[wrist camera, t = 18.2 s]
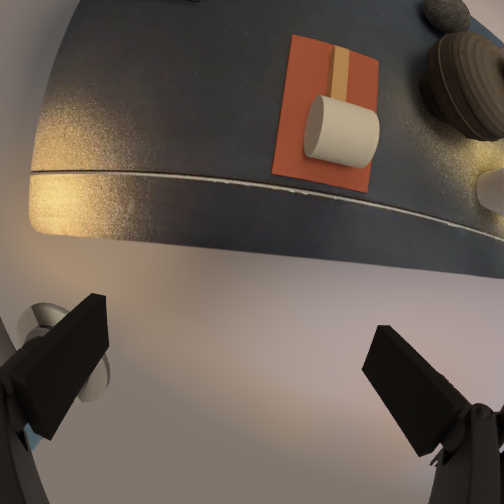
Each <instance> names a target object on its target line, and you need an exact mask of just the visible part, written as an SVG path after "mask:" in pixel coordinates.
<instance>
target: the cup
mask: <svg viewBox="0 0 504 504" xmlns="http://www.w3.org/2000/svg"><path fill="white" fill-rule="evenodd" d="M476 193H477V198H478V200H479V203H480V204H481V205H482V206H483V207H485V208H487V209H490V210H492V211H493V212H495V213H497V214H499V215H501V216H503V217H504V168H500V169H496V170H493V171H489V172H485V173H482V174H481V175H480V176H479V177H478V180H477V185H476Z"/></svg>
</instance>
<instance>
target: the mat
mask: <svg viewBox="0 0 504 504" xmlns="http://www.w3.org/2000/svg"><path fill="white" fill-rule="evenodd" d="M334 46H335V45H331V44H328V43H325V42H321V41H317V40H313V39H310V38H305V37H301V36H297V35H292V36H291V43H290V50H289V57H288V63H287V70H286V77H285V84H284V91H283V98H282V104H281V111H280V118H279V125H278V131H277V138H276V145H275V151H274V158H273V164H272V171H271V174H274V175H280V176H286V177H291V178H297V179H302V180H307V181H312V182H318V183H322V184H327V185H332V186H337V187H341V188H346V189H350V190H355V191H359V192H363V193H367V190H368V184H369V177H370V169H371V162H372V159H371V161H370V162H369V164H368V165H367V166H365V167H364V168H362V169H358V168H354V167H350V166H346V165H342V164H338V163H334V162H329V161H325V160H321V159H316V158H311V157H307V156H306V155H305V151H304V134H305V127H306V122H307V117H308V114H309V110H310V108H311V105H312V103H313V101H314V99H315V98H316V97H317V96H318V95H322V96H326V94H327V85H328V74H329V63H330V51H331V50H332V49H333V48H334ZM378 68H379V61H378V60H375V59H372V58H370V57H367V56H365V55H362V54H359V53H356V52H353V51H350V50H349V67H348V82H347V94H346V102H347V103H351V104H354V105H357V106H360V107H363V108H366V109H369V110H372V111H374V112H375V114H376V111H377V95H378Z"/></svg>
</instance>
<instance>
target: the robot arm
mask: <svg viewBox="0 0 504 504" xmlns="http://www.w3.org/2000/svg"><path fill="white" fill-rule="evenodd" d="M106 312H107V311H106V296H104V295H99V294H94V293H91V294H90V295H89V296H88V297H87V298H86V299H84V300H83V301H82V302H81V303H80V304H78V306H76V307H75V308H74V309H73V310H72V311H71V312H69V313H68V314H67V315H66V316H65V317H64V318H63V319H62V320H61V321H59V322H58V323H57V324H56V325H55V326H54V327H52V326H48V325H40V326H37V327H35V328H34V329H33V330H32V331H31V332H29V334H28V335H27V337H26V339H25V342H24V344H23V346H22V347H21V348H20V349H19V350H18V351H16V349H15V347H14V345H13V343H12V341H11V339H10V338H9V335H8V333H7V331H6V329H5V327H4V325H3V322H2V320H1V318H0V504H50V503H49V501H48V498H47V496H46V494H45V491H44V488H43V486H42V483H41V480H40V477H39V475H38V472H37V469H36V466H35V463H34V459H33V456H32V453H31V451H32V450H34V449H35V447H36V446H37V445H38V443H39V442H40V441H41V440H42V439H43V437H44V438H46V439H48V440H50V441H51V439H52V437H53V436H54V434H55V432H56V430H57V429H58V427H59V425H60V424H61V422H62V420H63V418H64V417H65V415H66V413H67V412H68V410H69V408H70V407H71V405H72V403H73V402H74V400H75V398H76V397H77V395H78V394H79V392H81V391H82V390H83V389H84V388H85V386H86V384H87V383H88V381H89V376H90V375H91V373H92V372H93V370H94V368H95V367H96V365H97V364H98V362H99V361H100V359H101V358H102V356H103V355H104V353H105V352H106V350H107V348H108V347H109V338H108V326H107V313H106ZM362 371H363V372H364V374H365V375H366V377H367V378H368V380H369V381H370V383H371V384H372V386H373V387H374V389H375V390H376V392H377V393H378V395H379V396H380V398H381V399H382V401H383V402H384V404H385V405H386V407H387V408H388V410H389V411H390V413H391V414H392V416H393V418H394V419H395V421H396V422H397V424H398V425H399V427H400V428H401V430H402V431H403V433H404V435H405V436H406V438H407V439H408V441H409V442H410V444H411V446H412V447H413V449H414V450H415V452H416V453H417V455H418V456H419V457H421V456H424V455H427V454H430V453H432V452H433V451H434V450H435V448H436V447H437V446H438V444H439V443H441V444H442V446H443V448H442V449H441V450H440V452H439V453H438V454H437V455H436V456H435V458H434V459H433V460H432V461H431V463H430V465H433V463H434V462H435V461H436V460H438V462H437V464H436V465H435V467H437V468H436V473H435V479H434V483H433V487H432V491H431V496H430V500H429V503H428V504H504V451H503V452H502V453H500V452H499V449H500V448H501V446H502V445H503V444H504V405H503V407H502V409H501V410H500V412H493V410H492V409H491V408H489V407H488V406H487V405H484V404H481V403H476V404H473V405H471V404H470V403H469V402H468V401H467V399H466V398H465V397H464V396H462V394H461V393H460V392H459V391H458V390H457V389H456V388H454V386H453V385H452V384H451V383H449V381H448V380H447V379H446V378H445V377H444V376H443V375H441V374H440V373H438V372H437V371H436V370H435V369H434V368H433V367H432V366H431V365H430V364H429V363H428V362H427V361H426V360H425V359H424V358H423V357H422V356H421V355H420V354H419V353H418V352H417V351H416V350H415V349H414V348H413V347H411V345H410V344H409V343H407V342H406V341H405V340H404V339H403V338H402V337H401V336H400V335H399V334H398V333H397V332H396V331H395V330H394V329H393V328H392V327H391V326H390V325H378V327H377V329H376V332H375V335H374V338H373V341H372V344H371V346H370V349H369V352H368V354H367V357H366V360H365V362H364V365H363V368H362Z"/></svg>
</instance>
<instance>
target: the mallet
mask: <svg viewBox="0 0 504 504" xmlns="http://www.w3.org/2000/svg"><path fill="white" fill-rule="evenodd" d="M348 67H349V50H348V49H345V48H342V47H339V46H336V45H335V46H334V48H333V49H332V50H331V51H330V63H329V74H328V85H327V94H326V96H322V95H318V96H317V97H316V98H315V99H314V101H313V103H312V105H311V108H310V110H309V114H308V117H307V122H306V127H305V134H304V151H305V155H306V156H307V157H311V158H316V159H321V160H325V161H329V162H334V163H338V164H342V165H346V166H350V167H354V168H358V169H362V168H364V167H365V166H367V165H368V164H369V162H370V161H371V159H372V157H373V155H374V153H375V151H376V148H377V144H378V139H379V121H378V117H377V115H376V114H375V112H374V111H372V110H369V109H366V108H363V107H360V106H357V105H354V104H351V103H347V102H346V94H347V82H348Z"/></svg>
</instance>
